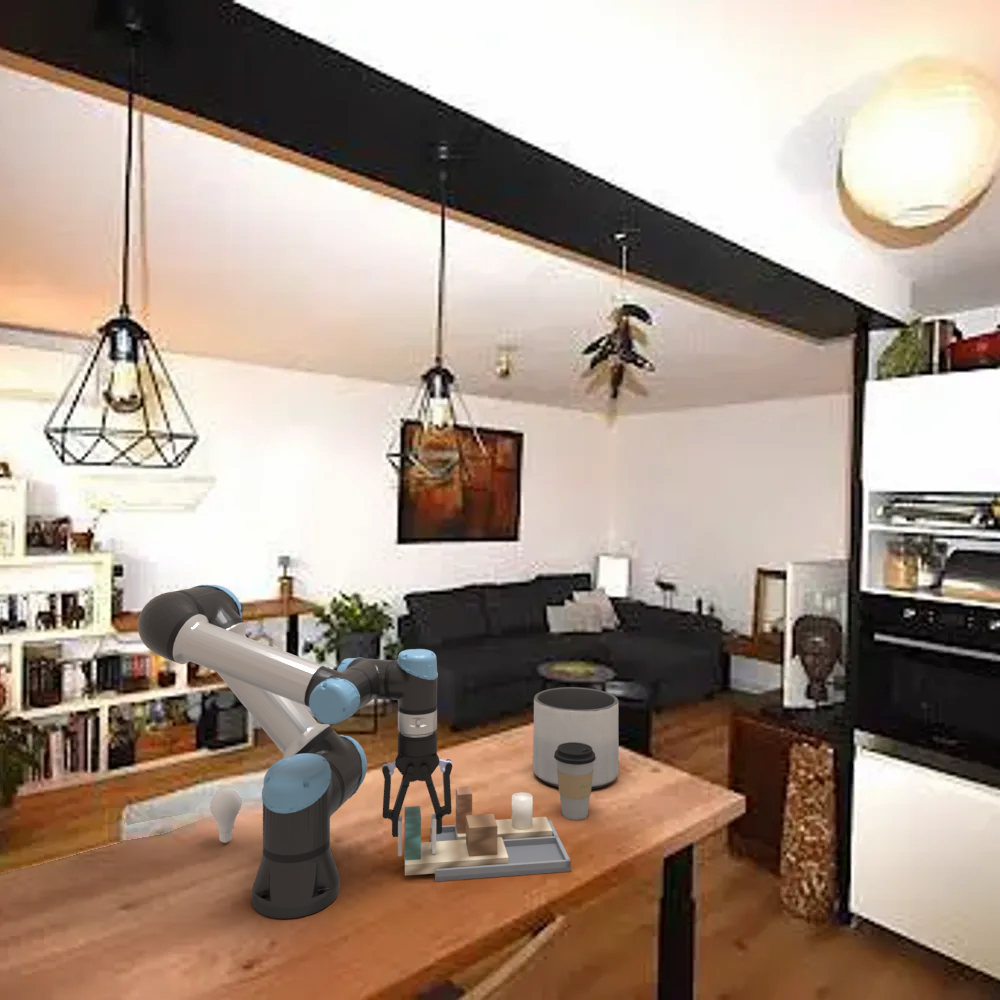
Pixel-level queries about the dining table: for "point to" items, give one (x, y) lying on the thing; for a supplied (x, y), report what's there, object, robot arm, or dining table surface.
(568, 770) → the coffee cup
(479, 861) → the strip
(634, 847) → the dining table surface
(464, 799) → the strip
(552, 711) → the planter
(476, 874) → the lane board
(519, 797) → the stoneware cylinder
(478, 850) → the walnut cube
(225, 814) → the lightbulb
